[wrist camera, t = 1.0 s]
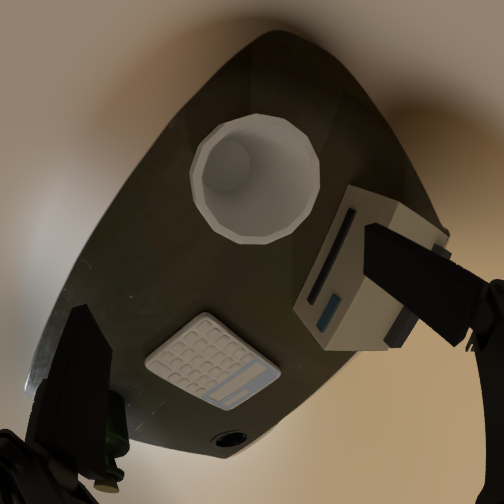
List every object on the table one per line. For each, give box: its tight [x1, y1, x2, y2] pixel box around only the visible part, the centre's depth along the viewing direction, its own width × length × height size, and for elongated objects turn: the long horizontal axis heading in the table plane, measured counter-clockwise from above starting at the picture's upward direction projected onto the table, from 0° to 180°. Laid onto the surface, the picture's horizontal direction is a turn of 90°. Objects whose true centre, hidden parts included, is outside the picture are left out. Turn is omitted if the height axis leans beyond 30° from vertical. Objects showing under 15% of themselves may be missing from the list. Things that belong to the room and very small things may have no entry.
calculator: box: [145, 312, 281, 410], centre depth 41 cm, size 13×20×2 cm, turn 37°
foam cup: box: [189, 114, 320, 244], centre depth 24 cm, size 10×9×13 cm
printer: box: [293, 184, 452, 351], centre depth 36 cm, size 20×14×12 cm
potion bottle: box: [94, 391, 130, 493], centre depth 30 cm, size 8×8×18 cm
